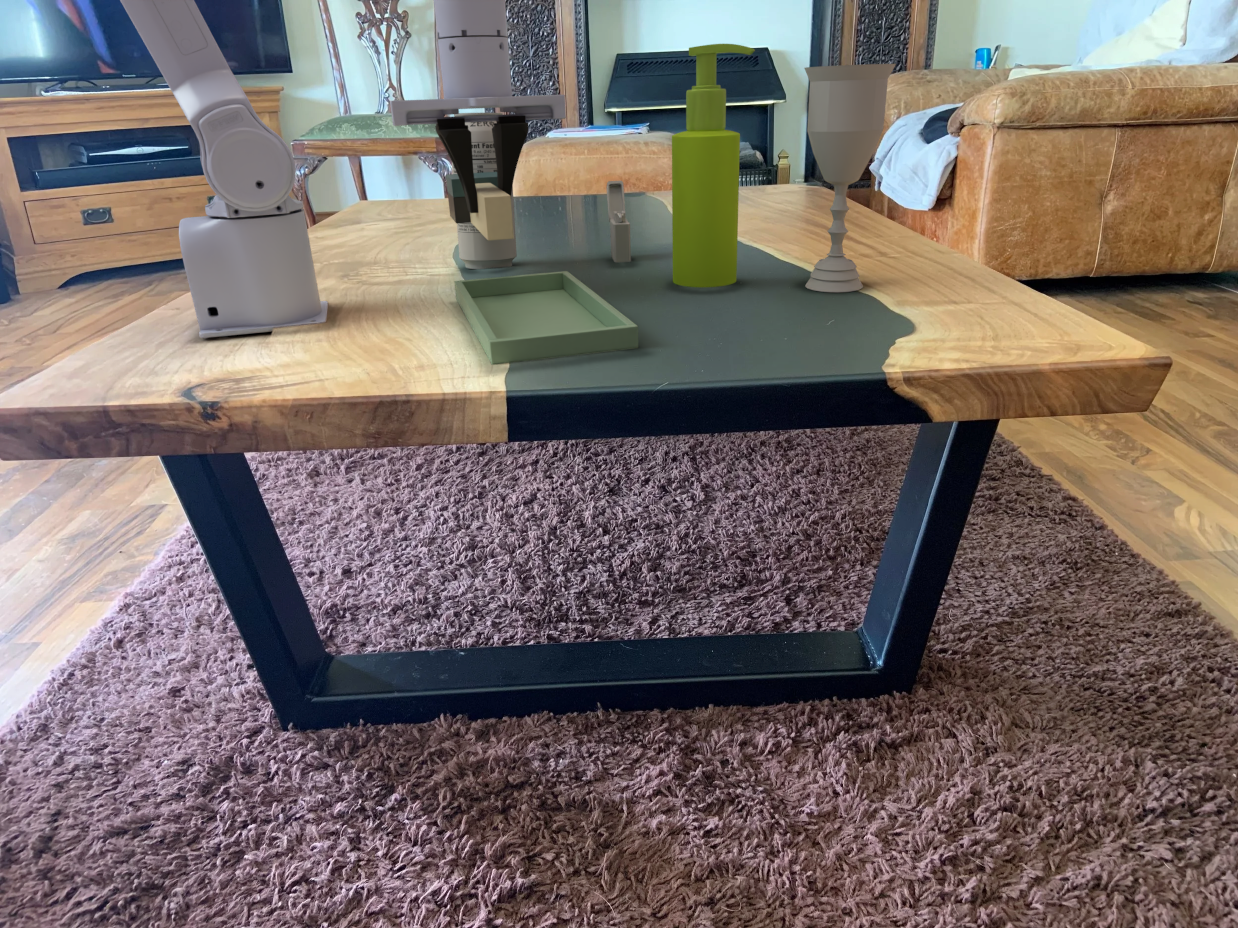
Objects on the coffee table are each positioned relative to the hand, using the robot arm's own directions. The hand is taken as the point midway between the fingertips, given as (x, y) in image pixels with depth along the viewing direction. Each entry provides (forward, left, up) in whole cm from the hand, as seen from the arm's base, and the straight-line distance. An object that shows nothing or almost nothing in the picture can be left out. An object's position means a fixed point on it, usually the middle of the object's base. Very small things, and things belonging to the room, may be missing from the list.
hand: (488, 210), depth 74 cm
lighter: (+15, +11, -8) cm, 20 cm away
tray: (+1, -13, -7) cm, 15 cm away
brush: (0, +3, -2) cm, 3 cm away
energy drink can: (+1, +13, -7) cm, 15 cm away
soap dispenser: (+19, -5, -8) cm, 21 cm away
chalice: (+29, -10, -8) cm, 32 cm away
